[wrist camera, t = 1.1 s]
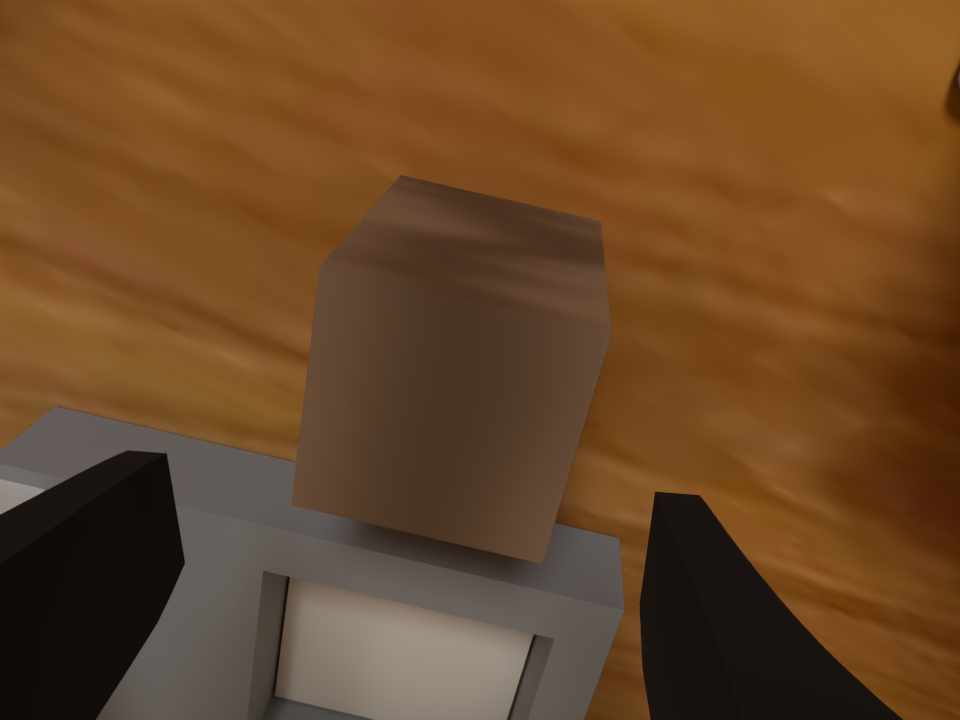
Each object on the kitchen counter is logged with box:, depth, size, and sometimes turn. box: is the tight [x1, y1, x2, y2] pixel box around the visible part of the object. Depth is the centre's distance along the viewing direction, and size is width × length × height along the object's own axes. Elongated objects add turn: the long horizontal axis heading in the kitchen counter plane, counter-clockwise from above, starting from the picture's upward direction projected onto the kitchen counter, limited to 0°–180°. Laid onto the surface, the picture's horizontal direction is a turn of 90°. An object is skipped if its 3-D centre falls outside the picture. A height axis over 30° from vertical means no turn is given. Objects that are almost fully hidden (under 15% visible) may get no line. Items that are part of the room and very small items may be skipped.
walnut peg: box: [291, 176, 612, 564], centre depth 18 cm, size 5×5×7 cm
